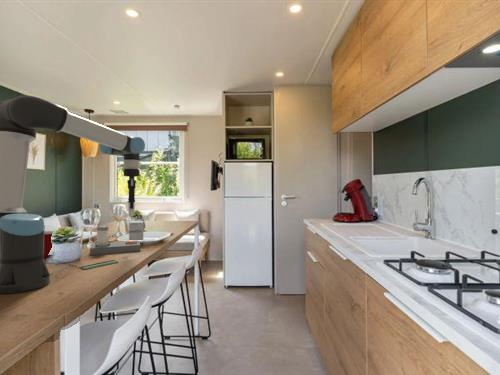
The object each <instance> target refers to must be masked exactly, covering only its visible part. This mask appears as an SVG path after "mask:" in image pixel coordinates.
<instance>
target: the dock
mask: <svg viewBox="0 0 500 375" xmlns="http://www.w3.org/2000/svg"><path fill="white" fill-rule="evenodd" d="M127 241H128V240H127ZM127 241H111V242H108V246H102V247H97V242H96V243H95V242H94V243H92V244H91V246H90V248H89V254H90V256H93V255H95V256H96V255H104V254H106V255H107V254H119V253H134V252H141V244H140V242H139V241H136V244H127Z"/></svg>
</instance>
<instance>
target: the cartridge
mask: <svg viewBox="0 0 500 375" xmlns="http://www.w3.org/2000/svg"><path fill="white" fill-rule="evenodd" d="M96 243H97V247H102V246H108V243H109V226H108V225H107V226H105V225H101V226H96Z"/></svg>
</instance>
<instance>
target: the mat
mask: <svg viewBox="0 0 500 375" xmlns="http://www.w3.org/2000/svg"><path fill="white" fill-rule="evenodd" d="M117 263H119V261H118V260H116V259H112V260H108V261H102V262H97V263H93V264H88V265H83V266H76V265H73V264H71V263H69V265H70V266H72V267H75V268H79V269H80V270H83V271H84V270H89V269H94V268H98V267H104V266H109V265H113V264H117Z"/></svg>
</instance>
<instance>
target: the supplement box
mask: <svg viewBox="0 0 500 375" xmlns="http://www.w3.org/2000/svg"><path fill="white" fill-rule="evenodd" d="M144 222H145V221H144V220H132V221H129V223H128V241H129V240H143V241H144V225H145V223H144Z"/></svg>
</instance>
